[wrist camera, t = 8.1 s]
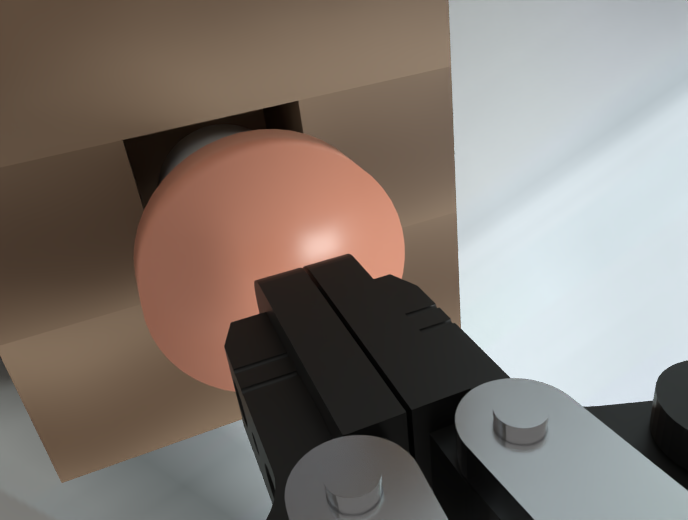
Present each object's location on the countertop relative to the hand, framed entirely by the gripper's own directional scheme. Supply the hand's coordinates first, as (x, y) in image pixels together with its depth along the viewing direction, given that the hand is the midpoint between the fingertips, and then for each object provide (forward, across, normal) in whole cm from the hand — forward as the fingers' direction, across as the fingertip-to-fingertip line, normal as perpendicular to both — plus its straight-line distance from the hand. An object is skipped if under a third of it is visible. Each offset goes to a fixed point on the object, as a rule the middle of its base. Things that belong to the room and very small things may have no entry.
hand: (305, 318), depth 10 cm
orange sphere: (+7, 0, 0) cm, 7 cm away
